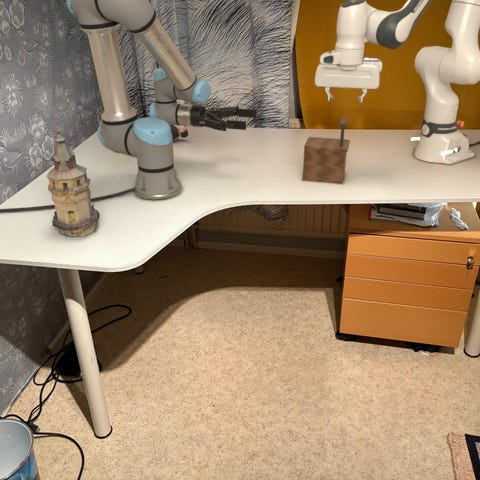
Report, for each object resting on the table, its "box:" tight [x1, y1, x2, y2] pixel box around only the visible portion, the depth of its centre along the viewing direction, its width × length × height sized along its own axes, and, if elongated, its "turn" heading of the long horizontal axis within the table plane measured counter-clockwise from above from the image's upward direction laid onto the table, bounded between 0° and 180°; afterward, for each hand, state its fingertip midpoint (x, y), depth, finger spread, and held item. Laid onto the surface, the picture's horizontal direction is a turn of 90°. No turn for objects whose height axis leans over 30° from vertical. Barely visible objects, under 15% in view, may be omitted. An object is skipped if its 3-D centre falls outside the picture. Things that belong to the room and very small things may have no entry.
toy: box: [170, 125, 189, 142], centre depth 223 cm, size 26×6×30 cm
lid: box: [303, 117, 351, 153], centre depth 179 cm, size 14×10×9 cm
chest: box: [302, 148, 348, 185], centre depth 184 cm, size 14×10×11 cm
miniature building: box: [46, 129, 101, 237], centre depth 148 cm, size 13×14×30 cm
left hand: (251, 119), depth 183 cm, fingers open, 13 cm apart
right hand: (345, 101), depth 173 cm, fingers open, 8 cm apart
